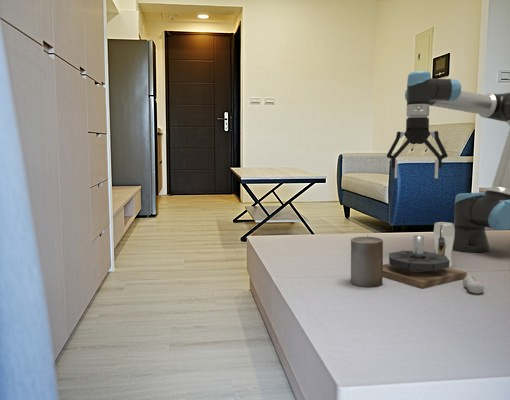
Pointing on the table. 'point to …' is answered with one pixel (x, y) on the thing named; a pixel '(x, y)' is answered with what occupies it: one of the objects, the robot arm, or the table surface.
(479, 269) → the table surface
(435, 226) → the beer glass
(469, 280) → the smooth white sculpture
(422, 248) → the steel post
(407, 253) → the dark grey faceted disc
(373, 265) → the pillar candle
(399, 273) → the walnut base
